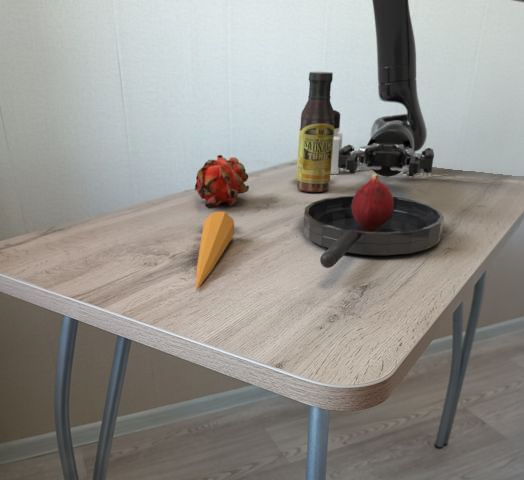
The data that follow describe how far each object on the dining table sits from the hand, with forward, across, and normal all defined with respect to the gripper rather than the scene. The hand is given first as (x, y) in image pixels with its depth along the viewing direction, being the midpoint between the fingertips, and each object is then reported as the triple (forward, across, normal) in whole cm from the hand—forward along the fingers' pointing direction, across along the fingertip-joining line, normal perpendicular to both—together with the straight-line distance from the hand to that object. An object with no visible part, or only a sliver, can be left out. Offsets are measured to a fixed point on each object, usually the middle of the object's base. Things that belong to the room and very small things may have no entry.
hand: (381, 167), depth 80 cm
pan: (+6, 0, +8) cm, 10 cm away
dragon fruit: (-5, -27, +9) cm, 29 cm away
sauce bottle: (-20, -14, +9) cm, 25 cm away
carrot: (+22, -19, +9) cm, 30 cm away
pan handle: (+20, -2, +6) cm, 22 cm away
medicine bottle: (-37, -15, +9) cm, 41 cm away
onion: (+6, 0, +8) cm, 10 cm away
